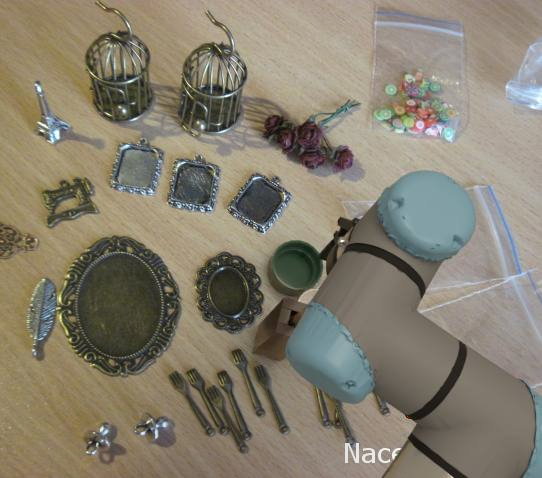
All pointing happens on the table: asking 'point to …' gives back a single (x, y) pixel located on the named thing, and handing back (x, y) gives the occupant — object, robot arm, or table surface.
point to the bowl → (295, 267)
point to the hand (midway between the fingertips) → (317, 303)
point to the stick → (296, 318)
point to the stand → (276, 330)
